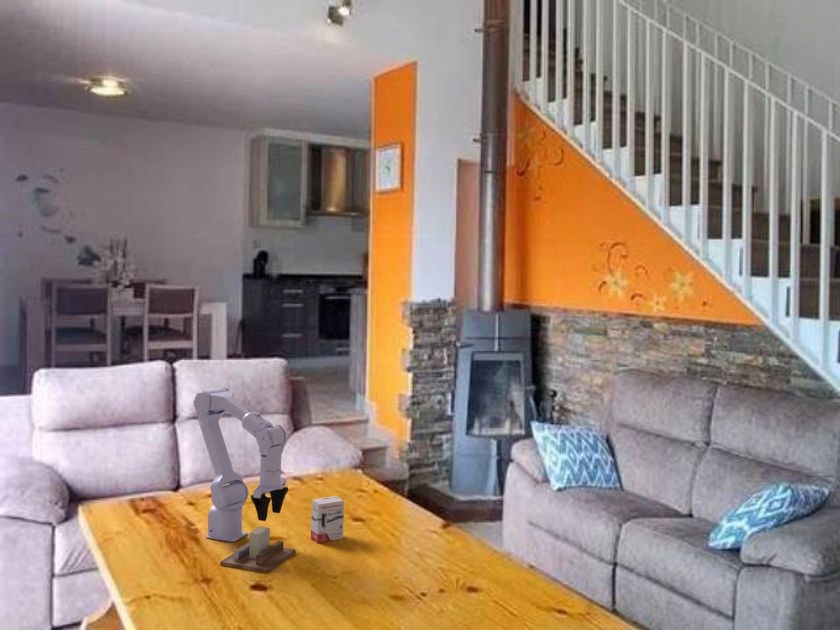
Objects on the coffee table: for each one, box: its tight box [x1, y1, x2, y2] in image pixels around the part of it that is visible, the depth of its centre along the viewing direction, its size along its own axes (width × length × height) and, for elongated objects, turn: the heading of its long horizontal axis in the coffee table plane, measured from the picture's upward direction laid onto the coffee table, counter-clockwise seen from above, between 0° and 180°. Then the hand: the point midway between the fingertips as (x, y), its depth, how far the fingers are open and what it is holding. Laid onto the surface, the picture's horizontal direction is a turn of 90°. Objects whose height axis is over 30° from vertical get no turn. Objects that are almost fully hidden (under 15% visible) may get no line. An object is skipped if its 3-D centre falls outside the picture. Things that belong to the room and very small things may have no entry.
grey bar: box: [233, 541, 249, 561], centre depth 214 cm, size 2×12×2 cm, turn 161°
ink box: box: [310, 495, 345, 544], centre depth 230 cm, size 8×5×12 cm, turn 123°
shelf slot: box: [219, 540, 297, 574], centre depth 213 cm, size 14×16×4 cm
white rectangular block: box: [248, 526, 271, 559], centre depth 213 cm, size 3×6×7 cm, turn 161°
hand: (269, 516), depth 220 cm, fingers open, 7 cm apart
